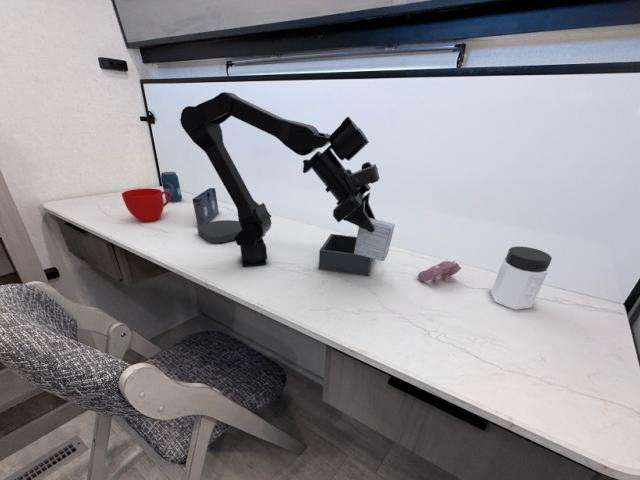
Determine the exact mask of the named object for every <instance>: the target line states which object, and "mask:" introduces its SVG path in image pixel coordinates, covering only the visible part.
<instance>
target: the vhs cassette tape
mask: <svg viewBox="0 0 640 480" xmlns="http://www.w3.org/2000/svg"><path fill="white" fill-rule="evenodd" d="M192 205H193V210H194V215H195V220H196V225H197V228H198V227H199V226H201V225H203V224H206V223H209V222H213V220H214V219H215V218H216V217H217V216H218V215H219V213H220V211H219V205H218V198H217V191H216V188H215V187H208V188H207V189H206V190H204V191H202V192H201V193H199V194H198V195H197V196H194V198H192Z"/></svg>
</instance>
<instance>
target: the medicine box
mask: <svg viewBox="0 0 640 480" xmlns="http://www.w3.org/2000/svg"><path fill="white" fill-rule="evenodd" d="M369 219H370V221H371V223H372V224H373V226H374V228H375V231H373V232H372V233H371V232H369V231H367V230H365V229H363V228H361V227H359V226H358V229H357V235H356V237H357V240H356V245H355V251H354V254H357V255H361V256H365V257H369V258H373V260H377V261H380V262H385V260H386V258H387V257H388V255H389V252H390V247H391V242H392V239H393V235H394V230H395V226H396V224H395V223H394V222H390V221H385V220H381V219H377V218H375V219H372V218H369Z"/></svg>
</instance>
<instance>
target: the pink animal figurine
mask: <svg viewBox="0 0 640 480" xmlns="http://www.w3.org/2000/svg"><path fill="white" fill-rule="evenodd" d="M461 269H462V267H461V266H460V264H459V263H458V262H456V261H455V260H453V261H449V260H444V261H441V262H439V263H438V264H435V265H433V266H430V267H429V268H428V269H426V270H422V271H420V272H419V273H418V274H417V279H418V280H419V281H420V282H429V281H431V282H432V284H435V283H437V282H439V281H440V280H441V281H445V280H448V279H449V278H450V277H452V276H454V275H455V274H457V273H458V272H460V270H461Z"/></svg>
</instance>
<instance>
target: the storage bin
mask: <svg viewBox="0 0 640 480" xmlns="http://www.w3.org/2000/svg"><path fill="white" fill-rule="evenodd" d="M356 240H357V236H355V235H354V236H353V235H343V234H336V233H330V235H329V236H328V237H327V239H326V240H325V242H324V243H323V245H322V246H321V248H320V249H319V251H318V252H319V253H318V254H319V255H318V270H323V271H328V272H329V271H330V272H336V273H337V272H338V273H345V274H351V275H357V276H364V277H369V275H370V272H371V268H372V264H373V260H374V259H373V258H369V257H365V256H361V255H357V254H354V251H355V245H356Z"/></svg>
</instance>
